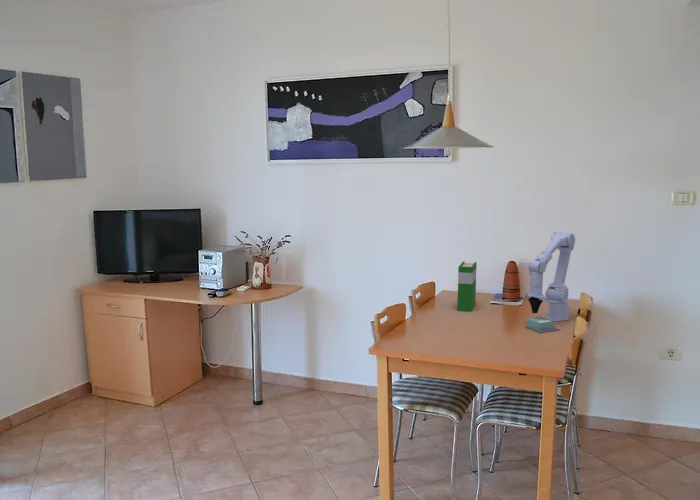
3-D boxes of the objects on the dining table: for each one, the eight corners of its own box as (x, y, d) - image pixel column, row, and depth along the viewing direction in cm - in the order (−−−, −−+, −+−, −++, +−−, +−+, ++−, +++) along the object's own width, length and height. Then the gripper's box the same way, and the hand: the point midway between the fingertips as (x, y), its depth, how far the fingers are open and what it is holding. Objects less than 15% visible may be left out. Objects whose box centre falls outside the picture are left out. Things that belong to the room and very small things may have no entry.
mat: (544, 324, 297) (544, 323, 297) (560, 330, 287) (560, 329, 287) (524, 327, 292) (524, 326, 292) (539, 333, 282) (539, 332, 282)
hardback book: (461, 303, 341) (463, 261, 337) (475, 304, 338) (476, 262, 335) (457, 310, 324) (458, 266, 321) (471, 312, 322) (472, 267, 318)
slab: (540, 316, 296) (553, 321, 288) (540, 323, 297) (552, 328, 289) (527, 318, 293) (539, 322, 285) (526, 325, 294) (539, 330, 285)
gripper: (519, 283, 297) (518, 310, 299) (539, 288, 284) (538, 317, 286) (531, 282, 300) (530, 309, 302) (551, 287, 286) (550, 315, 288)
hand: (534, 312), depth 294 cm, fingers closed
